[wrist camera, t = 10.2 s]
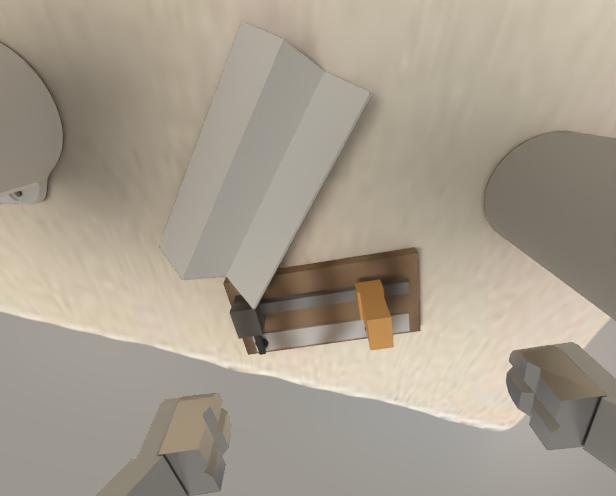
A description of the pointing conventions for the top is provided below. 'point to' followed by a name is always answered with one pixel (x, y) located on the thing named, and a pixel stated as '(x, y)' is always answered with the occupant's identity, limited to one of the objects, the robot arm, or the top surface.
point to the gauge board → (326, 302)
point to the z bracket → (258, 162)
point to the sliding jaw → (375, 314)
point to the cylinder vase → (561, 209)
